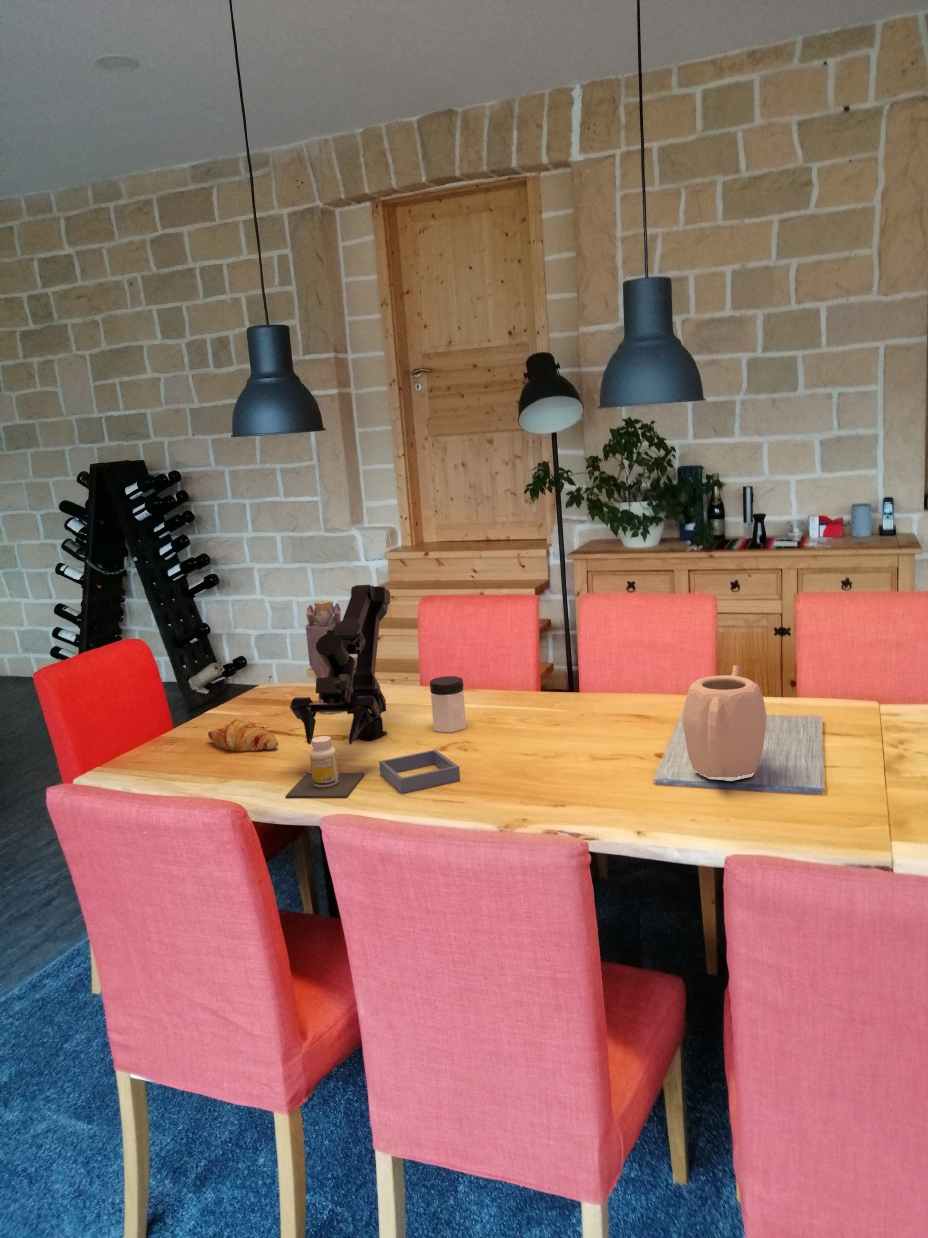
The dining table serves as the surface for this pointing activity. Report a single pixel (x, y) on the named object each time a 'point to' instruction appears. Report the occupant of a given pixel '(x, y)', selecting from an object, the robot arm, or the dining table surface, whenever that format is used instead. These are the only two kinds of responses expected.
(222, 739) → the croissant
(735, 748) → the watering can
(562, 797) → the dining table surface
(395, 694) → the dining table surface
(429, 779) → the grey square frame
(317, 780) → the supplement bottle
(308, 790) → the mat
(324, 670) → the vase
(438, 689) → the jar
